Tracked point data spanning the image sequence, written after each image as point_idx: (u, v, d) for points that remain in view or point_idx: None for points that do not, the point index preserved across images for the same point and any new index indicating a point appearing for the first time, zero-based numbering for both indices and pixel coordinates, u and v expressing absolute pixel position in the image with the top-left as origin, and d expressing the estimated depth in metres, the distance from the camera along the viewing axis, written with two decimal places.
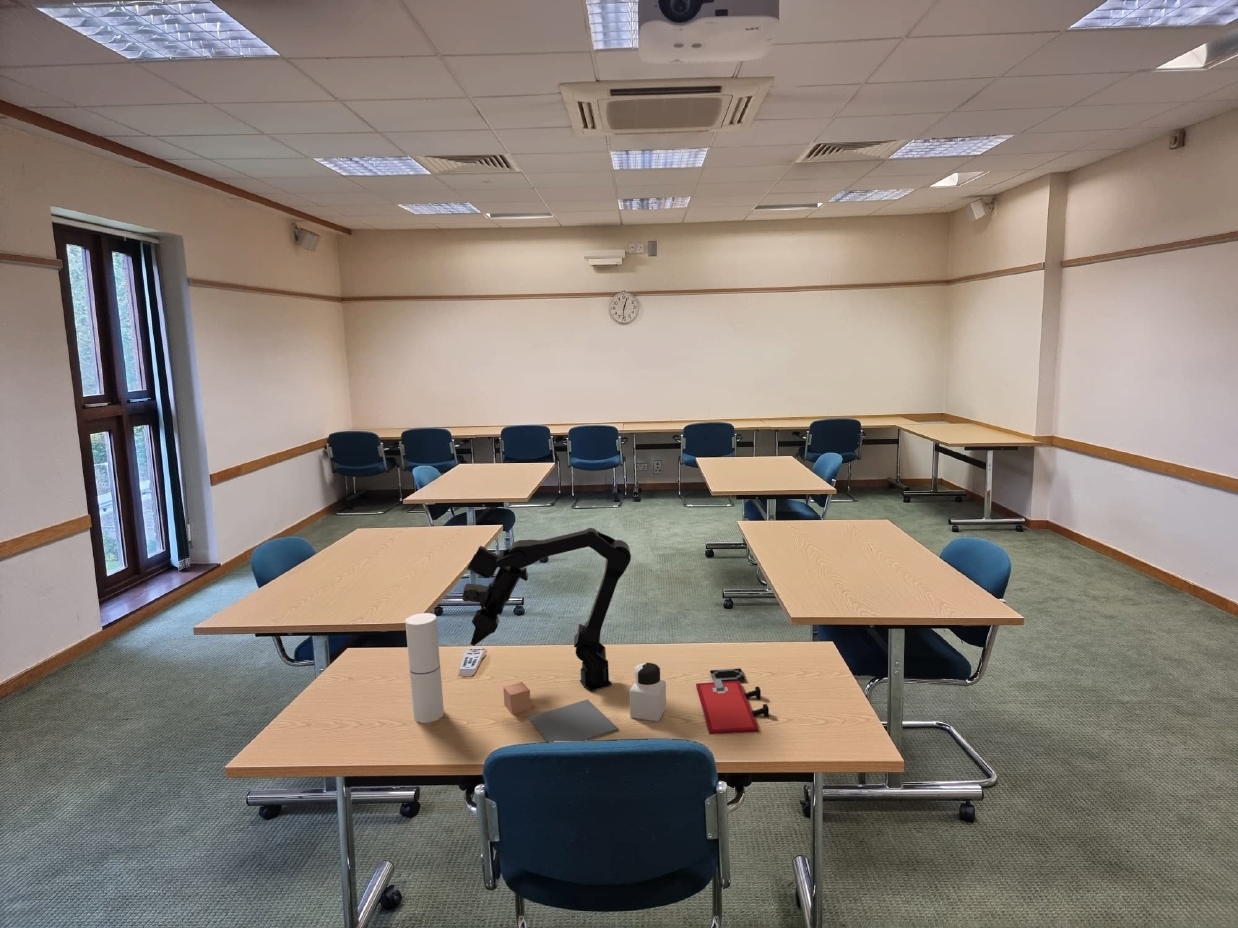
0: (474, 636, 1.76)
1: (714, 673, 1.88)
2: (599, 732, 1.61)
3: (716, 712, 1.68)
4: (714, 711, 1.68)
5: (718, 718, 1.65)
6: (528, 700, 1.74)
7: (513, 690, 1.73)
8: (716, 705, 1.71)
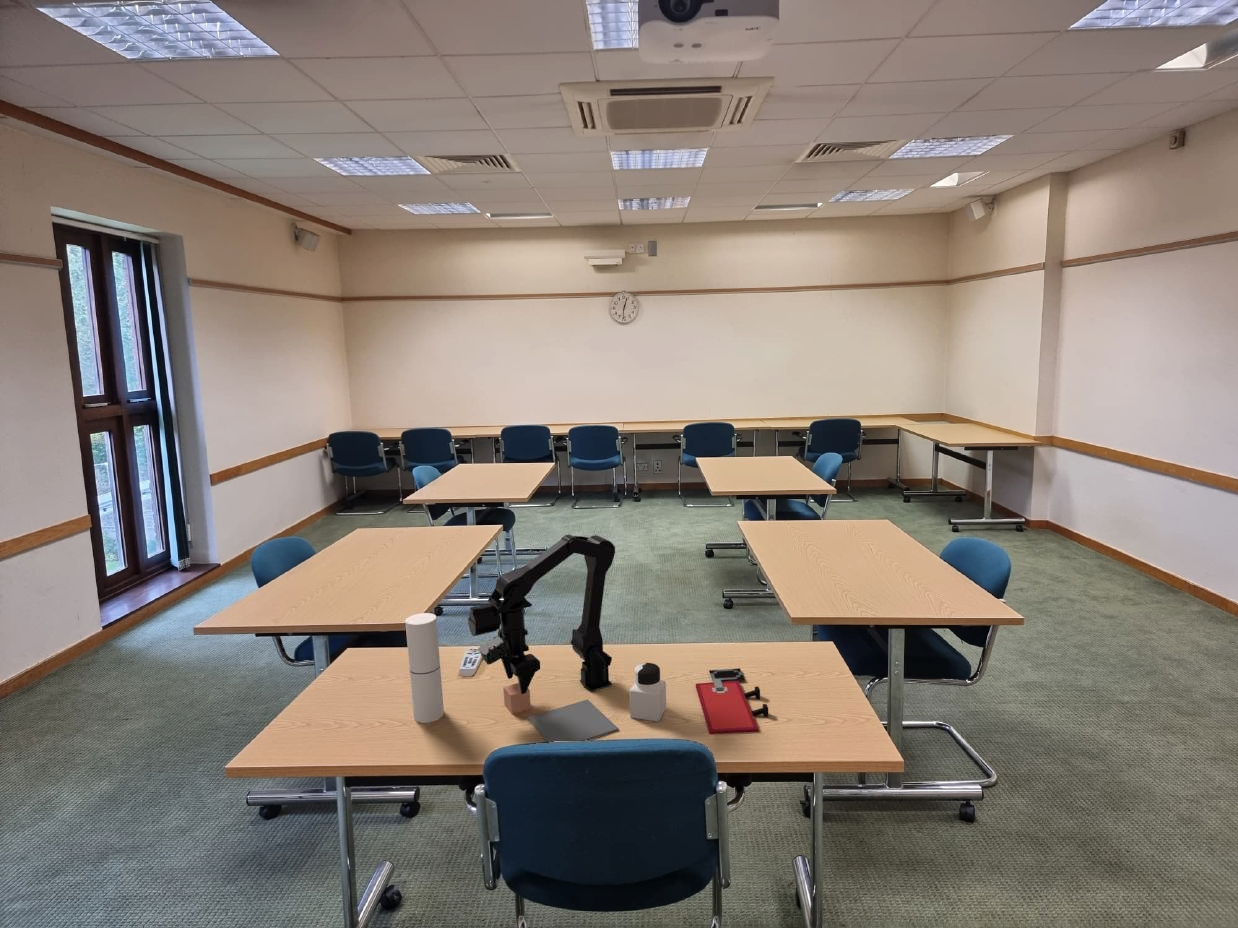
0: (522, 685, 1.69)
1: (713, 673, 1.88)
2: (599, 732, 1.61)
3: (716, 712, 1.68)
4: (714, 711, 1.68)
5: (718, 718, 1.65)
6: (528, 700, 1.74)
7: (513, 690, 1.73)
8: (715, 705, 1.71)
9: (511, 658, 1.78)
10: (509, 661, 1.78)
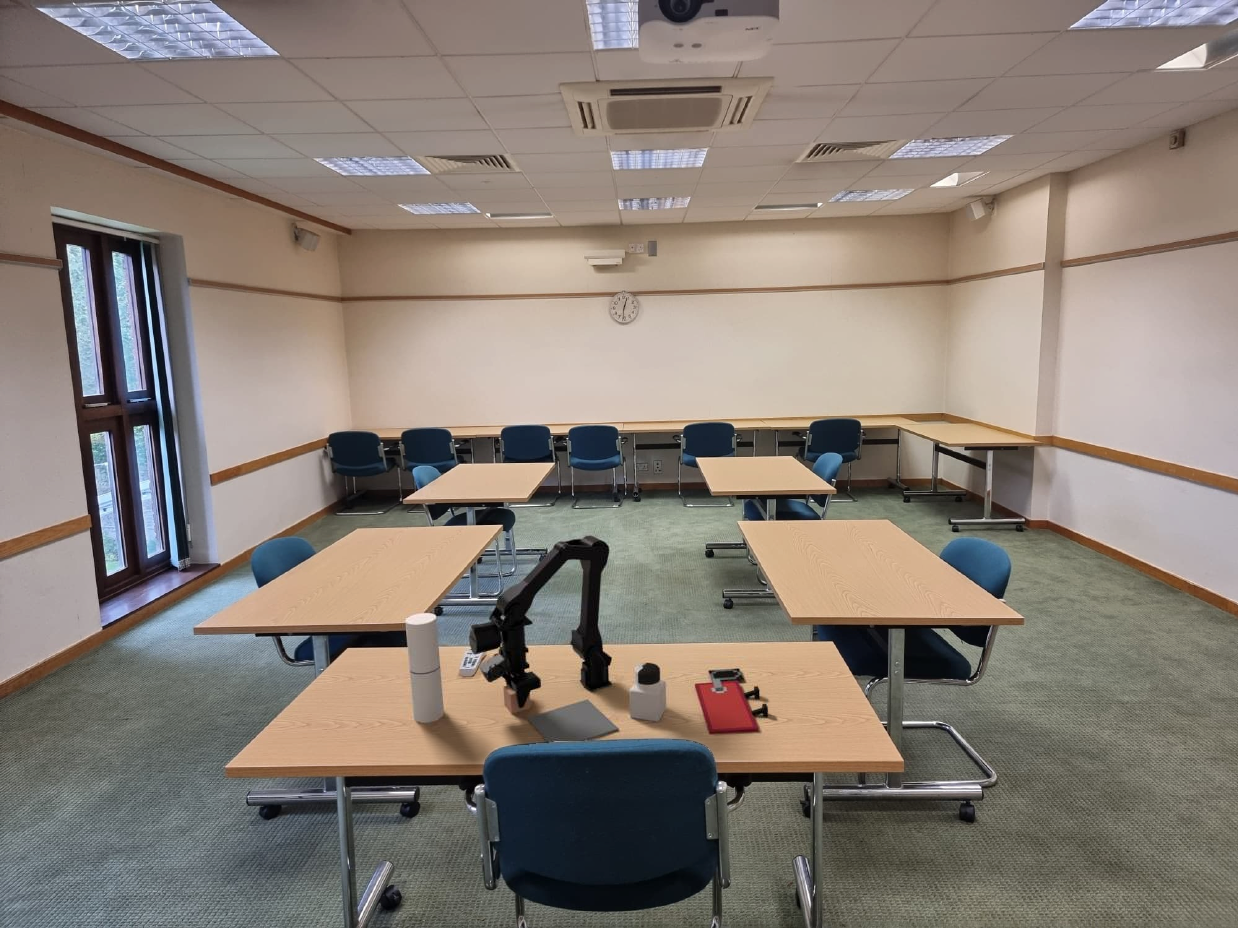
0: (519, 699, 1.71)
1: (712, 673, 1.88)
2: (599, 732, 1.61)
3: (715, 712, 1.68)
4: (713, 711, 1.68)
5: (717, 718, 1.65)
6: (528, 700, 1.73)
7: None
8: (715, 705, 1.71)
9: None
10: None
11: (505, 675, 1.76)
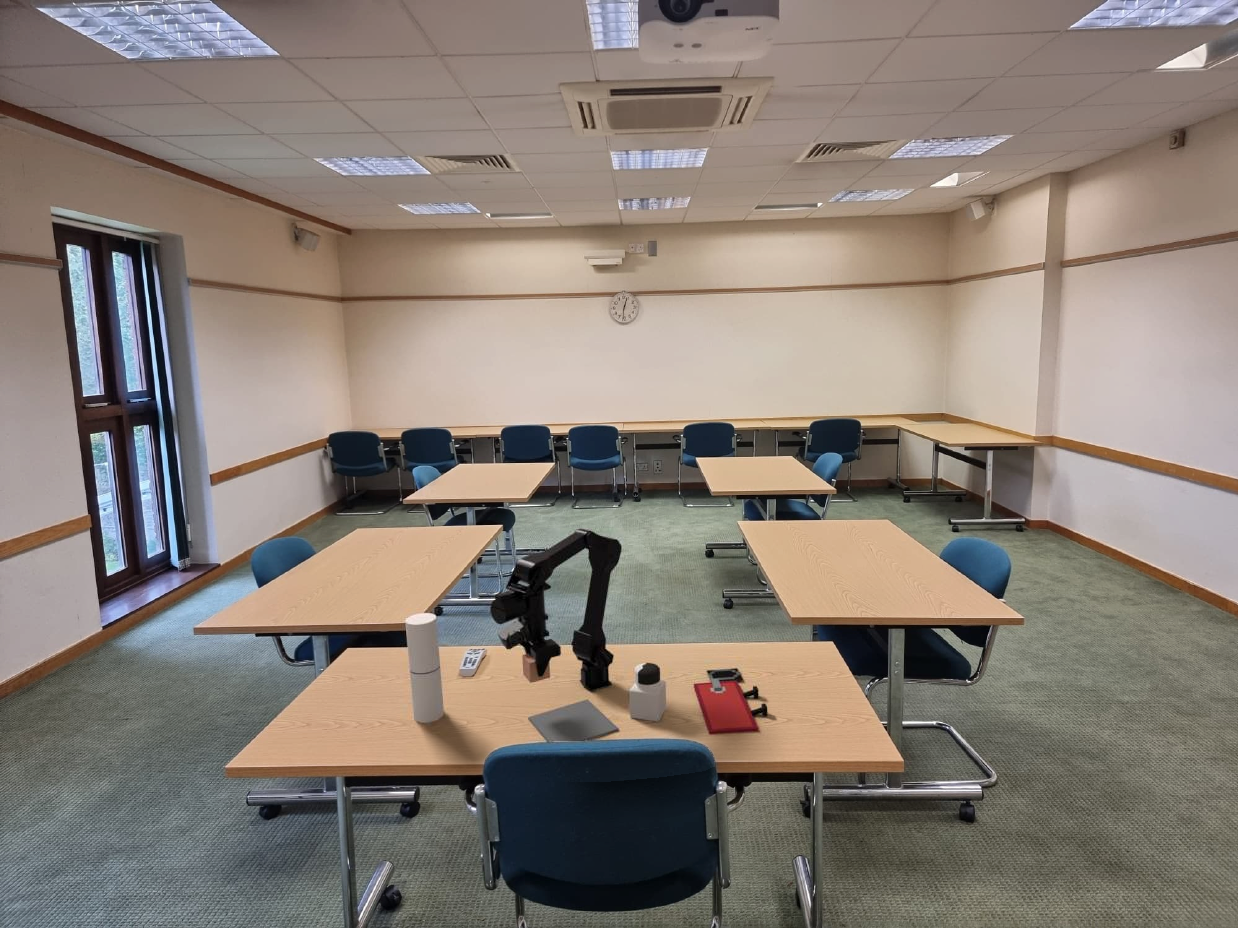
0: (539, 667, 1.66)
1: (711, 673, 1.88)
2: (599, 732, 1.61)
3: (715, 712, 1.68)
4: (713, 711, 1.68)
5: (717, 718, 1.65)
6: (547, 669, 1.68)
7: (532, 658, 1.68)
8: (714, 705, 1.71)
9: None
10: None
11: (524, 643, 1.71)
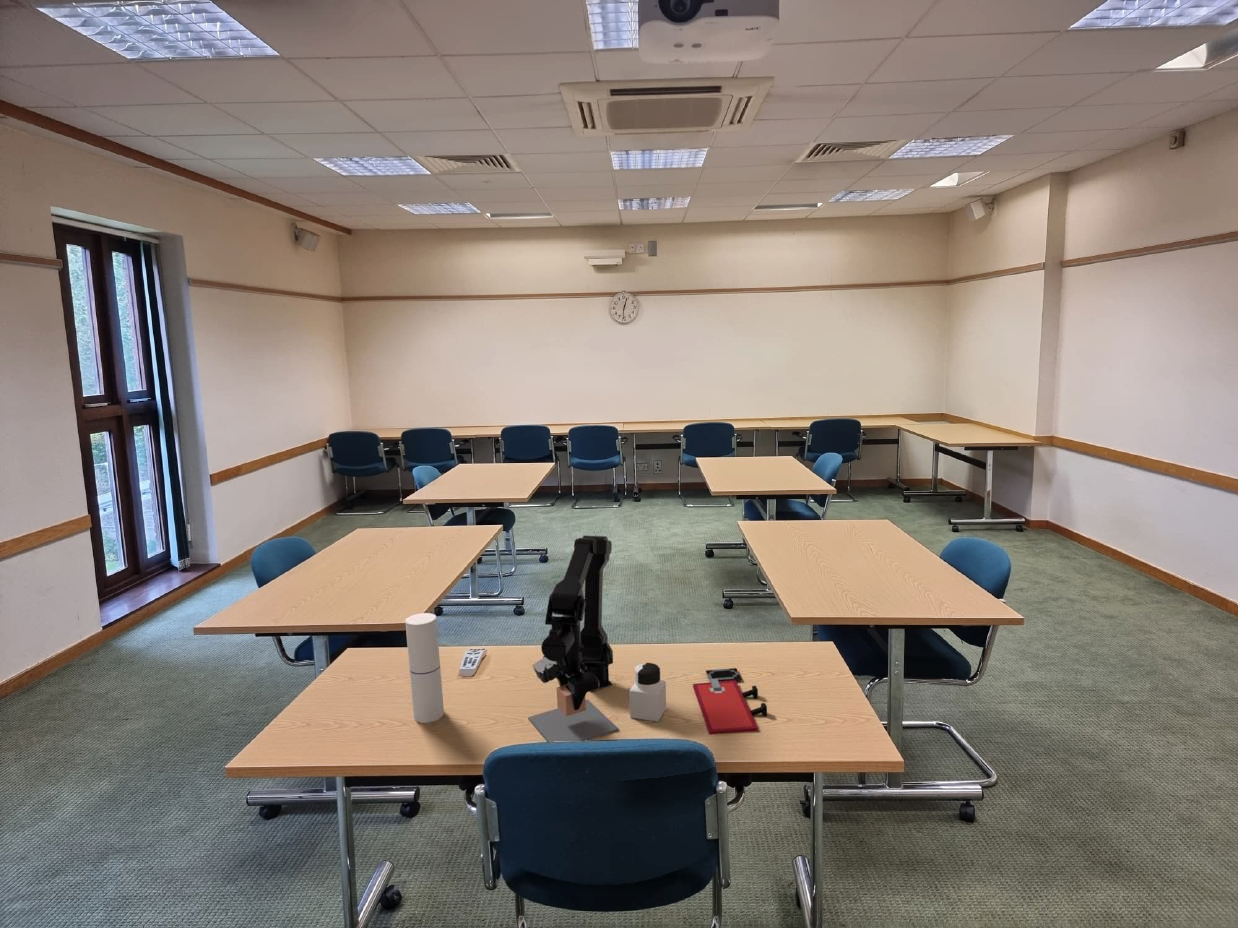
0: (575, 701, 1.61)
1: (710, 673, 1.88)
2: (599, 732, 1.61)
3: (714, 712, 1.68)
4: (712, 711, 1.68)
5: (717, 718, 1.65)
6: (583, 701, 1.64)
7: (567, 691, 1.63)
8: (714, 705, 1.71)
9: (568, 678, 1.67)
10: (566, 681, 1.67)
11: (558, 675, 1.66)
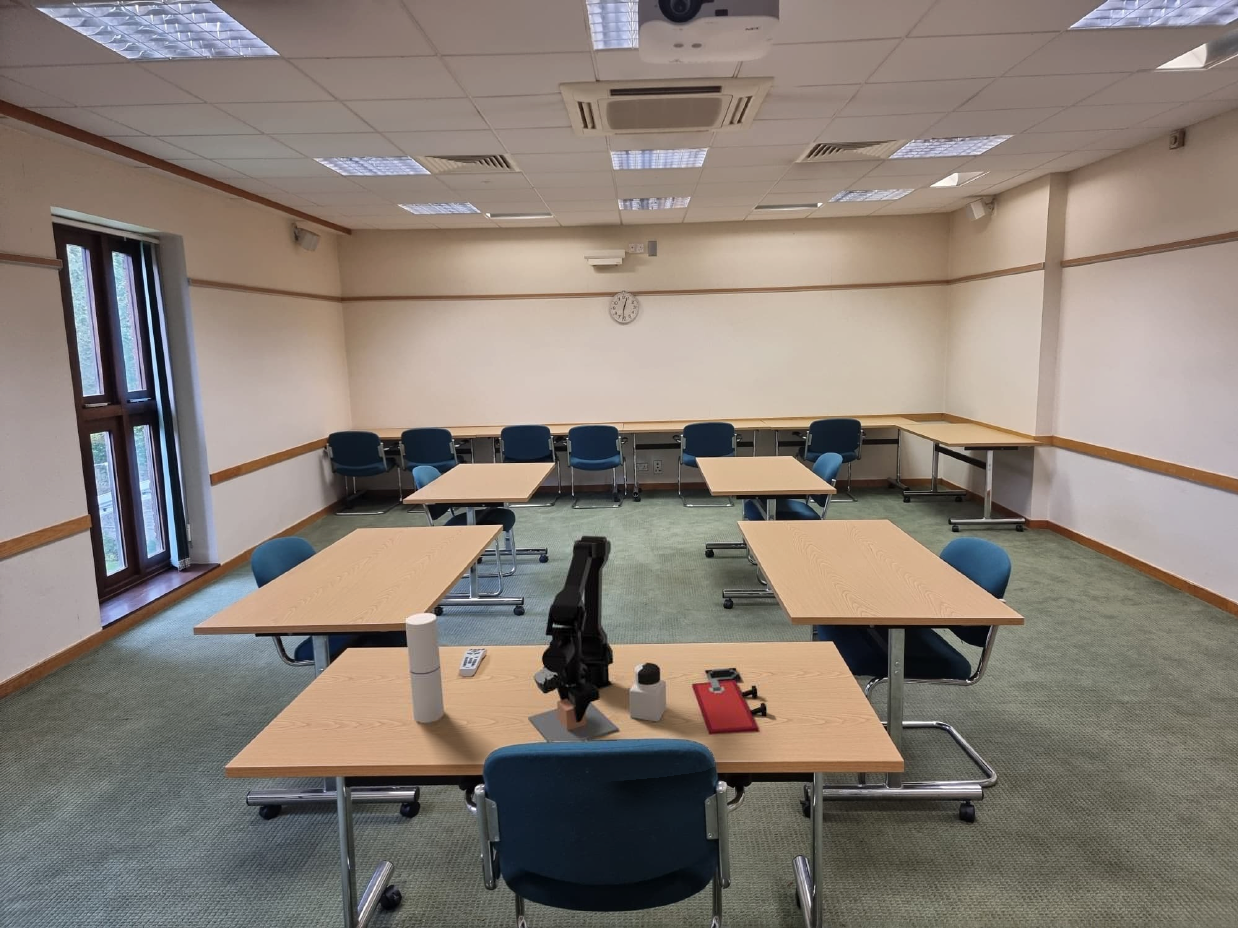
0: (577, 713, 1.61)
1: (709, 673, 1.88)
2: (599, 732, 1.61)
3: (714, 712, 1.68)
4: (712, 711, 1.68)
5: (716, 718, 1.65)
6: (584, 715, 1.64)
7: (568, 705, 1.64)
8: (713, 705, 1.71)
9: (567, 687, 1.68)
10: (565, 690, 1.68)
11: None
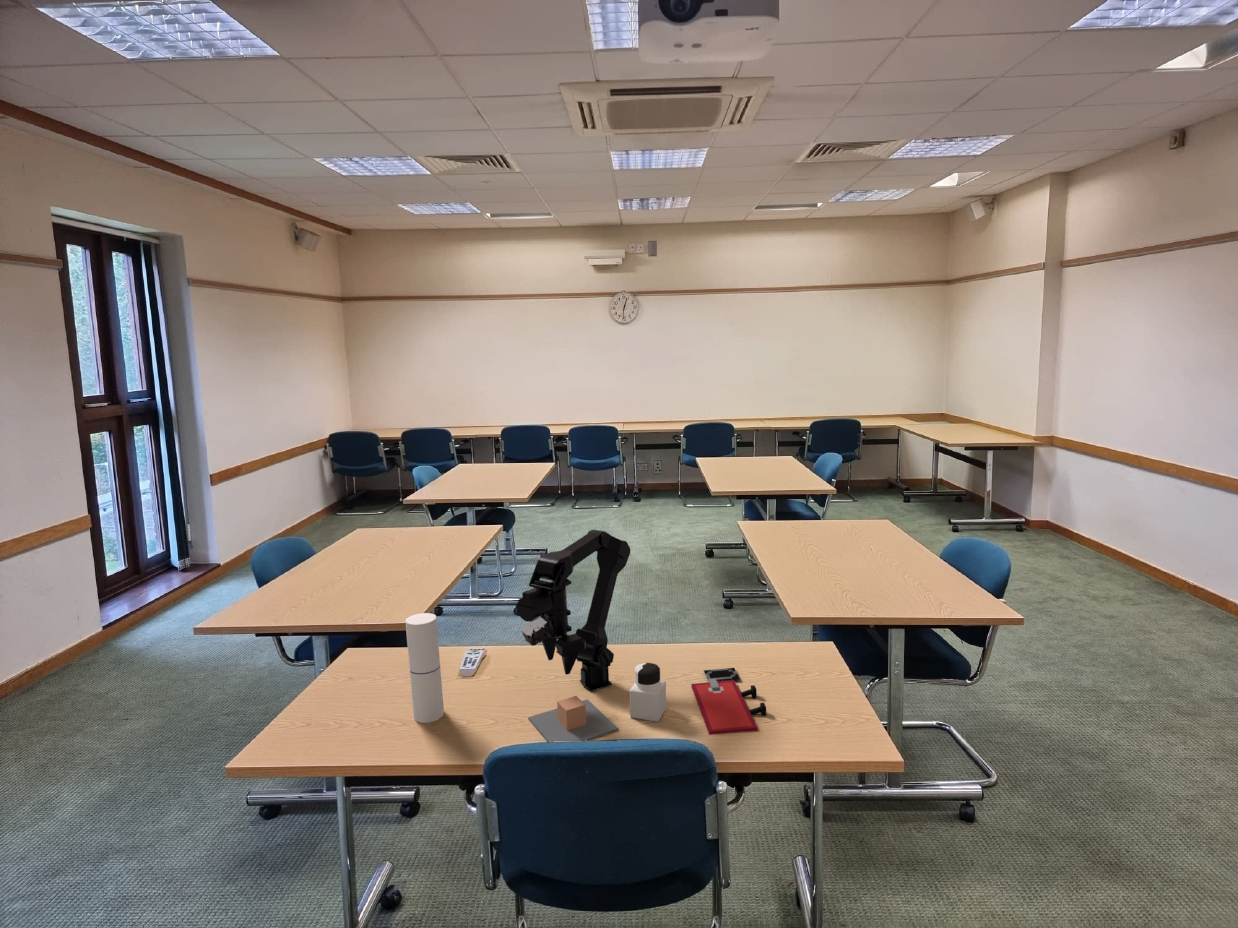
0: (566, 665, 1.67)
1: (708, 673, 1.88)
2: (599, 732, 1.61)
3: (714, 712, 1.68)
4: (712, 711, 1.69)
5: (716, 718, 1.65)
6: (584, 715, 1.64)
7: (568, 705, 1.64)
8: (713, 705, 1.71)
9: (551, 639, 1.76)
10: (549, 642, 1.75)
11: None
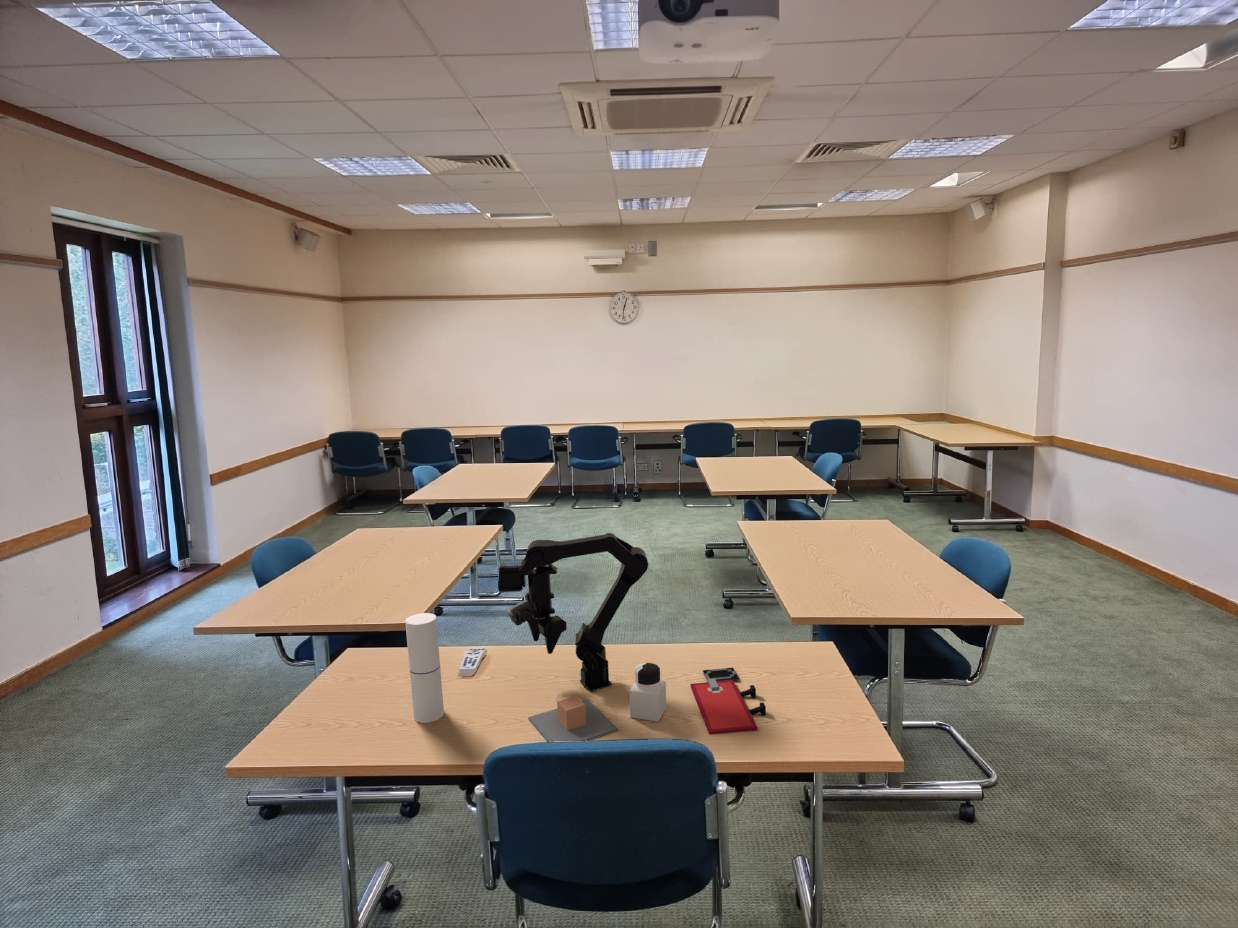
0: (549, 645, 1.78)
1: (707, 673, 1.88)
2: (599, 732, 1.61)
3: (713, 712, 1.68)
4: (711, 711, 1.69)
5: (716, 718, 1.65)
6: (584, 715, 1.64)
7: (568, 705, 1.64)
8: (712, 705, 1.71)
9: (537, 621, 1.87)
10: (535, 624, 1.87)
11: (528, 618, 1.86)
